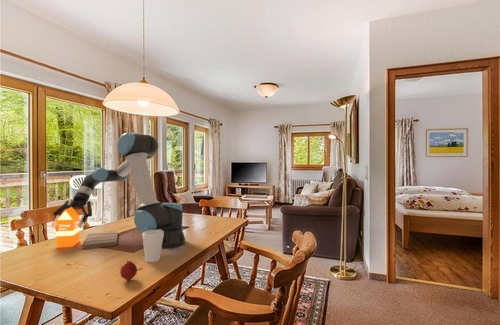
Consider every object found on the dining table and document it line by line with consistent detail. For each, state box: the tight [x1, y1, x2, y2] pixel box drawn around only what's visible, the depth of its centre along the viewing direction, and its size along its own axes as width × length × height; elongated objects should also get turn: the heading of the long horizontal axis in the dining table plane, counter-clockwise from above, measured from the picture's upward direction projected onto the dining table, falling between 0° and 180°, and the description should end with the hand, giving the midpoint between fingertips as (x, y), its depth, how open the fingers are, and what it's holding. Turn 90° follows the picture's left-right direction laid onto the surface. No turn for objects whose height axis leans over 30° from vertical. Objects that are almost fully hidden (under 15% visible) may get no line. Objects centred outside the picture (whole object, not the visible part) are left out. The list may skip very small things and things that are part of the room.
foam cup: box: [141, 229, 164, 263], centre depth 119 cm, size 10×9×13 cm
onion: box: [120, 260, 138, 282], centre depth 98 cm, size 6×6×8 cm
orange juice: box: [55, 206, 81, 248], centre depth 138 cm, size 8×9×20 cm
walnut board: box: [81, 230, 119, 250], centre depth 144 cm, size 22×16×2 cm
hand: (66, 226), depth 136 cm, fingers open, 13 cm apart
